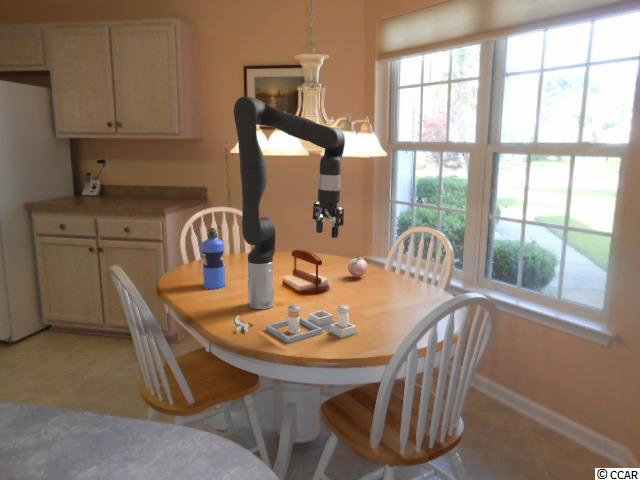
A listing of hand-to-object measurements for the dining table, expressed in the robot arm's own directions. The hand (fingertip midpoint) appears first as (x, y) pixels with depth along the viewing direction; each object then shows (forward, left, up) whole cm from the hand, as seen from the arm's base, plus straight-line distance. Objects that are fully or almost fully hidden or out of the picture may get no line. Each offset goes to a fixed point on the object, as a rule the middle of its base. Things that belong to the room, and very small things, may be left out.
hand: (326, 235), depth 166 cm
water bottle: (-55, -18, -29) cm, 65 cm away
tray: (+8, -19, -29) cm, 35 cm away
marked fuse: (+8, -19, -28) cm, 35 cm away
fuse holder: (+12, -7, -29) cm, 32 cm away
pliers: (-9, -27, -30) cm, 41 cm away
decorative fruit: (-29, +39, -29) cm, 57 cm away
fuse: (+18, -7, -28) cm, 34 cm away
